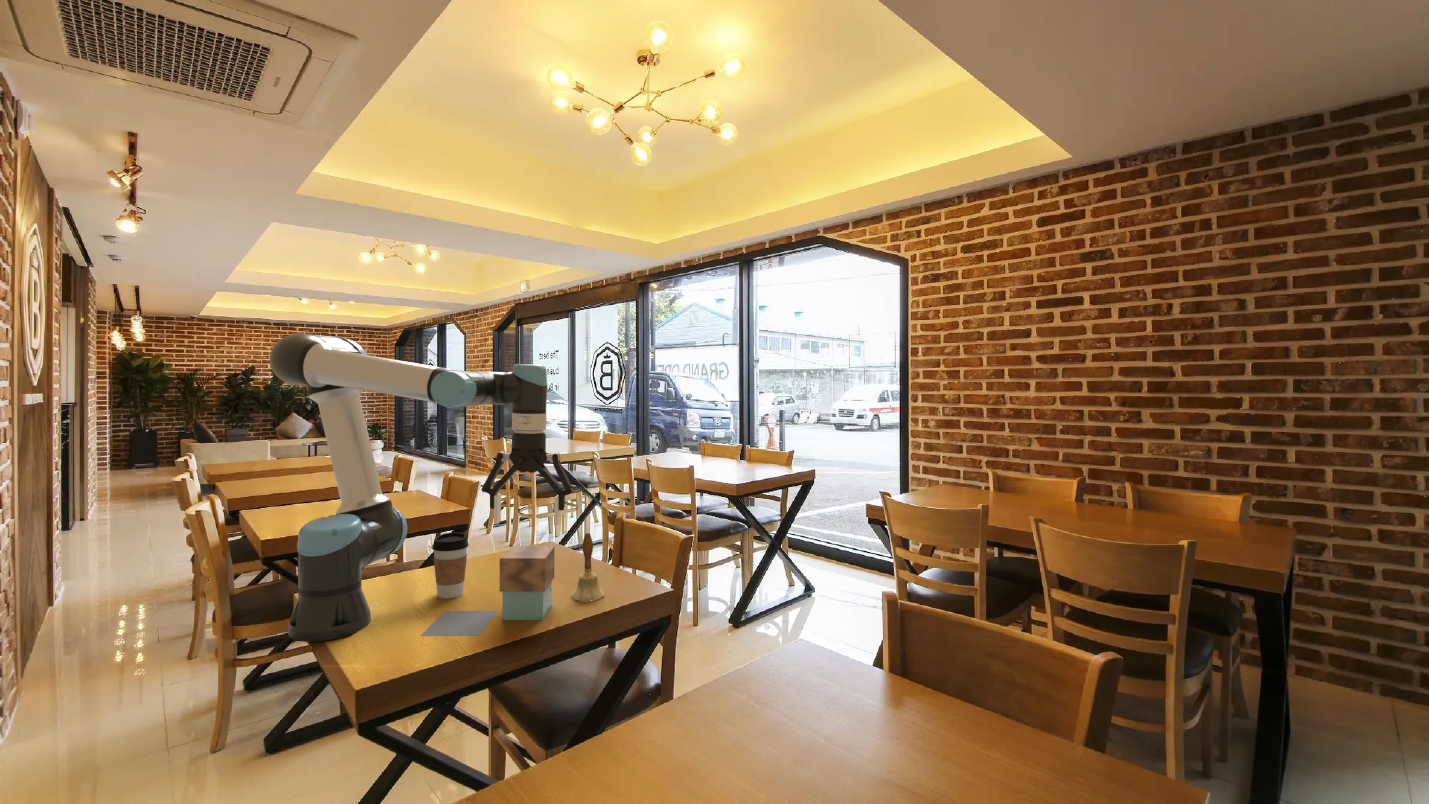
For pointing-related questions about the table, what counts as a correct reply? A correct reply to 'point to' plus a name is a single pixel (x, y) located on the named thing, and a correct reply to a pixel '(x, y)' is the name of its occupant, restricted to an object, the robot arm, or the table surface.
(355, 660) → the table surface
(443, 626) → the mat
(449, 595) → the coffee cup
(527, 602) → the mint square pot
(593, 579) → the hand bell
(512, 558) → the brown wooden block
